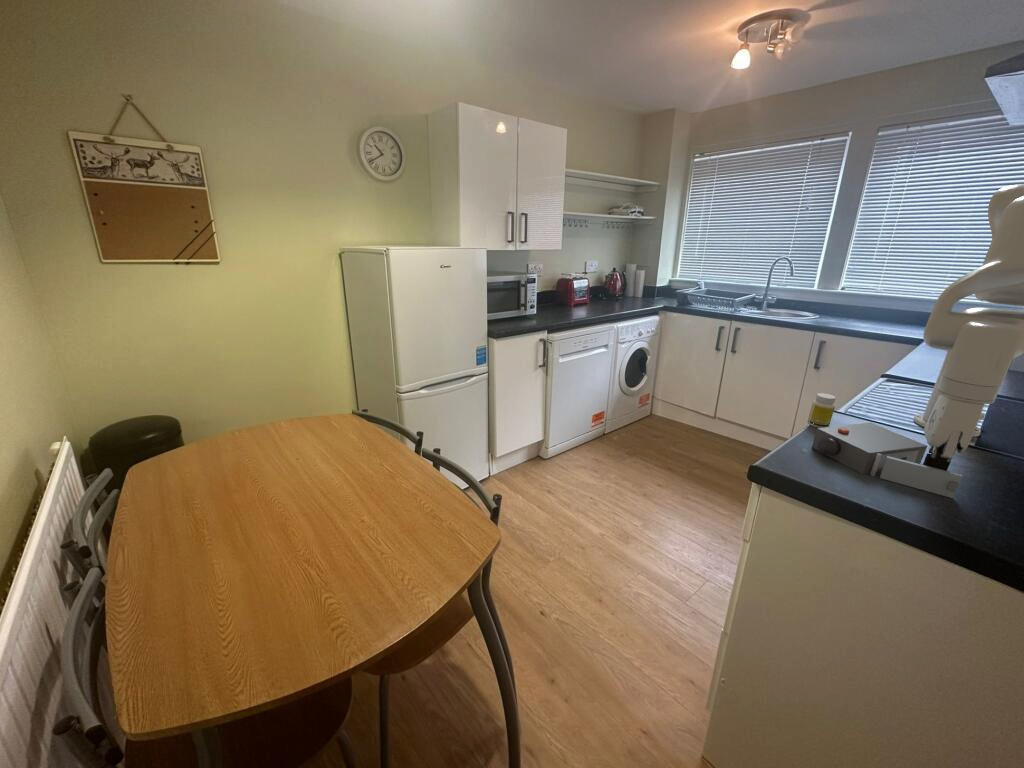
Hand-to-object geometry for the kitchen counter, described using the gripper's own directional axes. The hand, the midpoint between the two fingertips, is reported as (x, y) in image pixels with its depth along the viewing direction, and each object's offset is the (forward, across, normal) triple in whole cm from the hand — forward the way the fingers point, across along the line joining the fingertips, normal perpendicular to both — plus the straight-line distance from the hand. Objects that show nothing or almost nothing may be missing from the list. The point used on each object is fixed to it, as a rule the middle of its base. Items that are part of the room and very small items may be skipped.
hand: (931, 474), depth 83 cm
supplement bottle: (+3, -21, -20) cm, 29 cm away
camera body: (+3, -6, -10) cm, 12 cm away
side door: (+2, +3, -2) cm, 4 cm away
